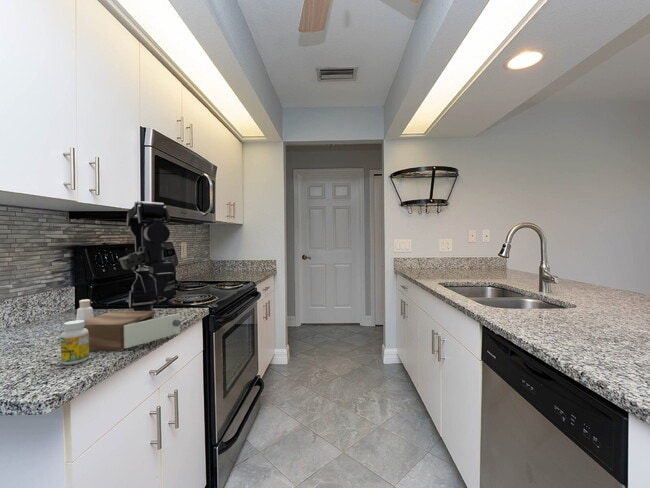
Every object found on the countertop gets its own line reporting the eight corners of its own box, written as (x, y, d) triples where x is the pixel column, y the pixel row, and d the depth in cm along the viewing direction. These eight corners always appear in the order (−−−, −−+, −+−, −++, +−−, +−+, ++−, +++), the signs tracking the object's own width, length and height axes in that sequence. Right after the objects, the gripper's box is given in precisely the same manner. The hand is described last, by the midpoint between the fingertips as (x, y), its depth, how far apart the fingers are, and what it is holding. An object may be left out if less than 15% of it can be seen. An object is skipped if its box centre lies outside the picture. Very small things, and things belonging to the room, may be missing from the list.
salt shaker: (82, 338, 94) (82, 302, 94) (69, 336, 95) (69, 301, 95) (100, 333, 99) (99, 298, 99) (87, 331, 101) (87, 298, 101)
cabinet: (111, 332, 99) (111, 311, 99) (155, 332, 99) (155, 310, 99) (70, 350, 83) (70, 324, 83) (122, 350, 83) (122, 324, 83)
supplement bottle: (94, 357, 78) (93, 319, 78) (74, 365, 73) (73, 325, 73) (76, 356, 79) (75, 318, 79) (54, 364, 74) (54, 324, 74)
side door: (178, 332, 97) (178, 313, 97) (182, 333, 96) (182, 314, 96) (123, 347, 83) (123, 325, 83) (127, 349, 82) (127, 326, 82)
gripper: (111, 243, 94) (112, 294, 95) (133, 244, 82) (134, 302, 82) (151, 243, 103) (152, 290, 103) (176, 243, 90) (176, 296, 91)
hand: (153, 294), depth 95 cm, fingers open, 9 cm apart
